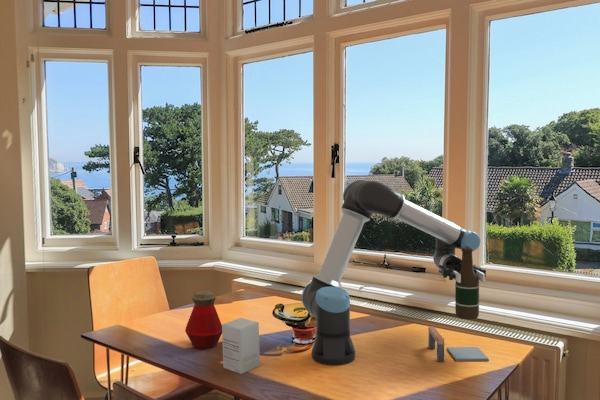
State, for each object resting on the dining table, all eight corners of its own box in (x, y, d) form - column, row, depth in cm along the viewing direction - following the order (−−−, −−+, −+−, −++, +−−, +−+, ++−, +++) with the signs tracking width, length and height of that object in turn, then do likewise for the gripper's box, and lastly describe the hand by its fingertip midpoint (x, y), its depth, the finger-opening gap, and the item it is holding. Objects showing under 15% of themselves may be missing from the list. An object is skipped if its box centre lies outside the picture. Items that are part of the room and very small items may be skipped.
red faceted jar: (177, 344, 186) (176, 292, 185) (207, 335, 196) (206, 286, 194) (201, 355, 175) (199, 299, 174) (231, 345, 184) (230, 292, 183)
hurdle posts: (438, 361, 165) (438, 344, 165) (428, 346, 179) (428, 330, 179) (444, 361, 165) (444, 344, 165) (433, 346, 179) (433, 330, 179)
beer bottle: (480, 320, 166) (480, 249, 164) (456, 319, 167) (456, 249, 166) (477, 313, 173) (477, 246, 172) (454, 312, 175) (454, 245, 173)
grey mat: (455, 361, 165) (455, 358, 165) (446, 349, 176) (446, 347, 176) (488, 360, 165) (488, 358, 165) (477, 349, 176) (477, 346, 176)
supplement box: (242, 359, 170) (240, 317, 169) (260, 365, 165) (259, 321, 164) (222, 367, 163) (220, 323, 162) (241, 374, 158) (239, 328, 157)
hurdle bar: (438, 344, 165) (438, 339, 165) (428, 330, 179) (428, 326, 179) (444, 344, 165) (444, 339, 165) (433, 330, 179) (433, 326, 179)
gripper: (479, 274, 187) (502, 289, 164) (425, 275, 188) (441, 289, 165) (479, 255, 187) (502, 266, 164) (425, 256, 187) (441, 267, 164)
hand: (471, 278), depth 164 cm, fingers closed on beer bottle, 7 cm apart
